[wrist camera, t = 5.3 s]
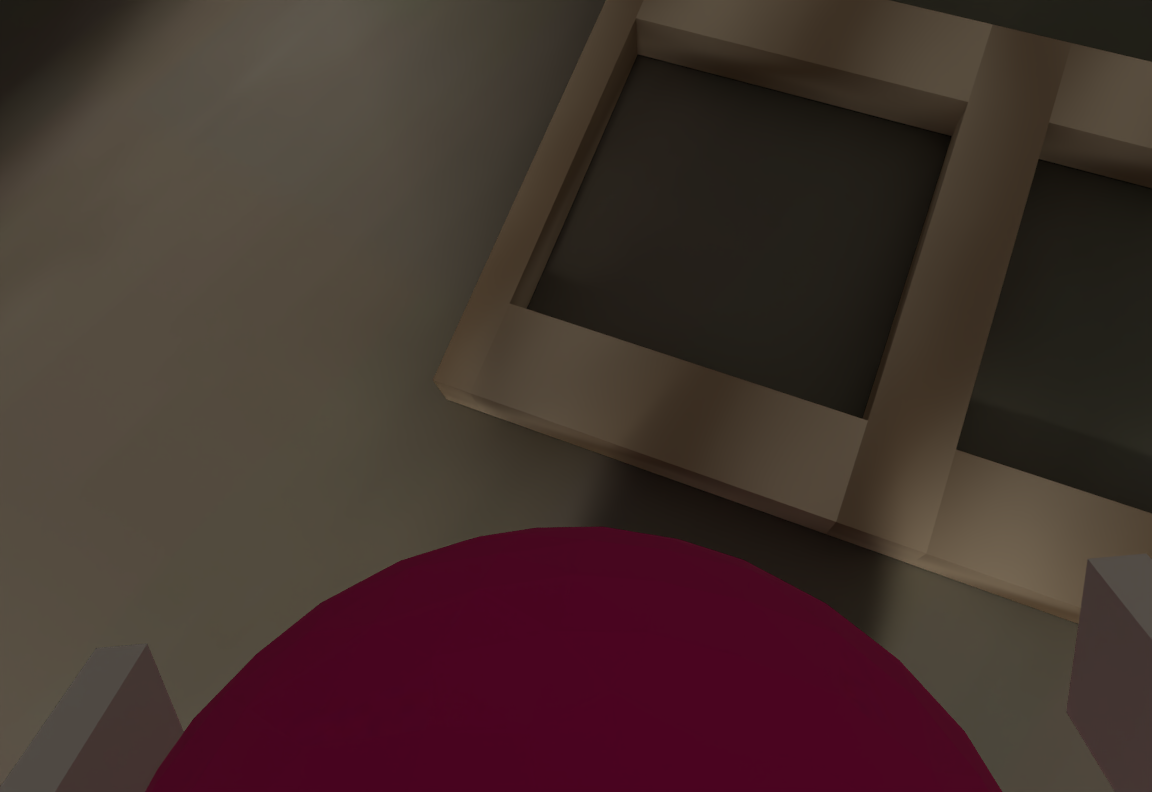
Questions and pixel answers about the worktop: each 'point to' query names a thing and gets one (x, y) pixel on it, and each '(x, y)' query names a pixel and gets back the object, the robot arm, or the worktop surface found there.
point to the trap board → (922, 321)
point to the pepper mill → (573, 683)
